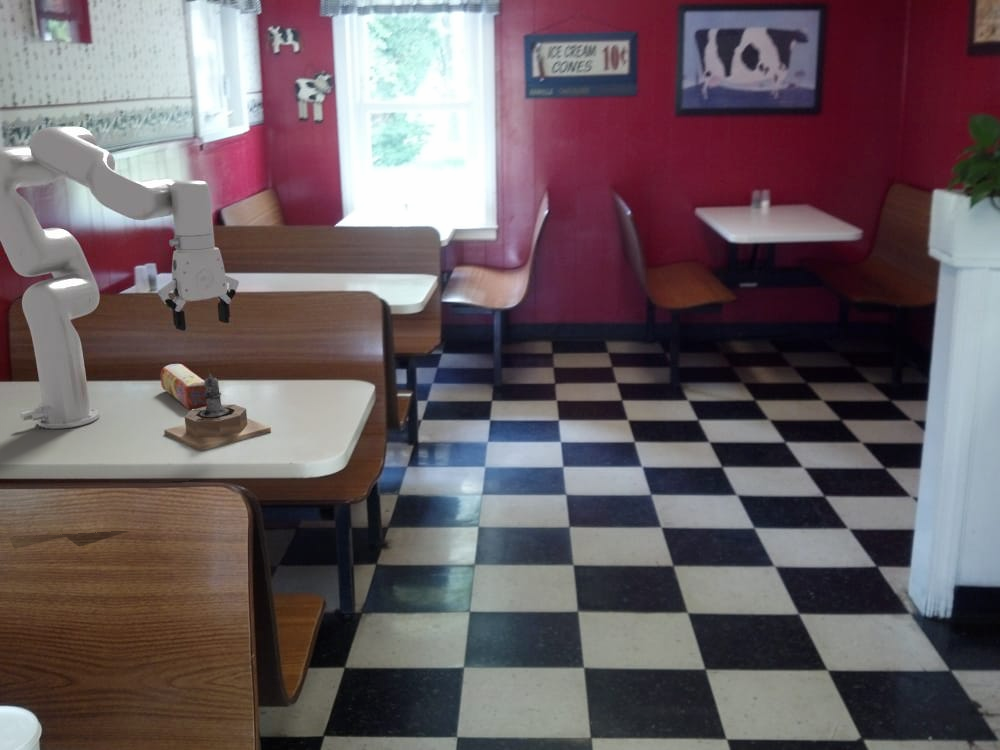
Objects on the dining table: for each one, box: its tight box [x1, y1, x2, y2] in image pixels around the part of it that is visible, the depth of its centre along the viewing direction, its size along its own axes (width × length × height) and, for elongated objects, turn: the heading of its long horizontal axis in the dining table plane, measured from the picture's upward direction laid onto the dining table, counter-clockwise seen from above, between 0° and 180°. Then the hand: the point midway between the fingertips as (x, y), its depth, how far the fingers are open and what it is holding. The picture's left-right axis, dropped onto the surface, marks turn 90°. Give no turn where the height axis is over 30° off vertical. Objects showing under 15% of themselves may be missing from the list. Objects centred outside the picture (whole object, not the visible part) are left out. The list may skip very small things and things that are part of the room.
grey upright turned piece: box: [200, 373, 229, 418], centre depth 212 cm, size 6×6×12 cm
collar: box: [163, 404, 272, 452], centre depth 214 cm, size 16×16×4 cm
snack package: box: [159, 363, 206, 411], centre depth 240 cm, size 21×7×7 cm, turn 32°
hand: (202, 325), depth 210 cm, fingers open, 9 cm apart
